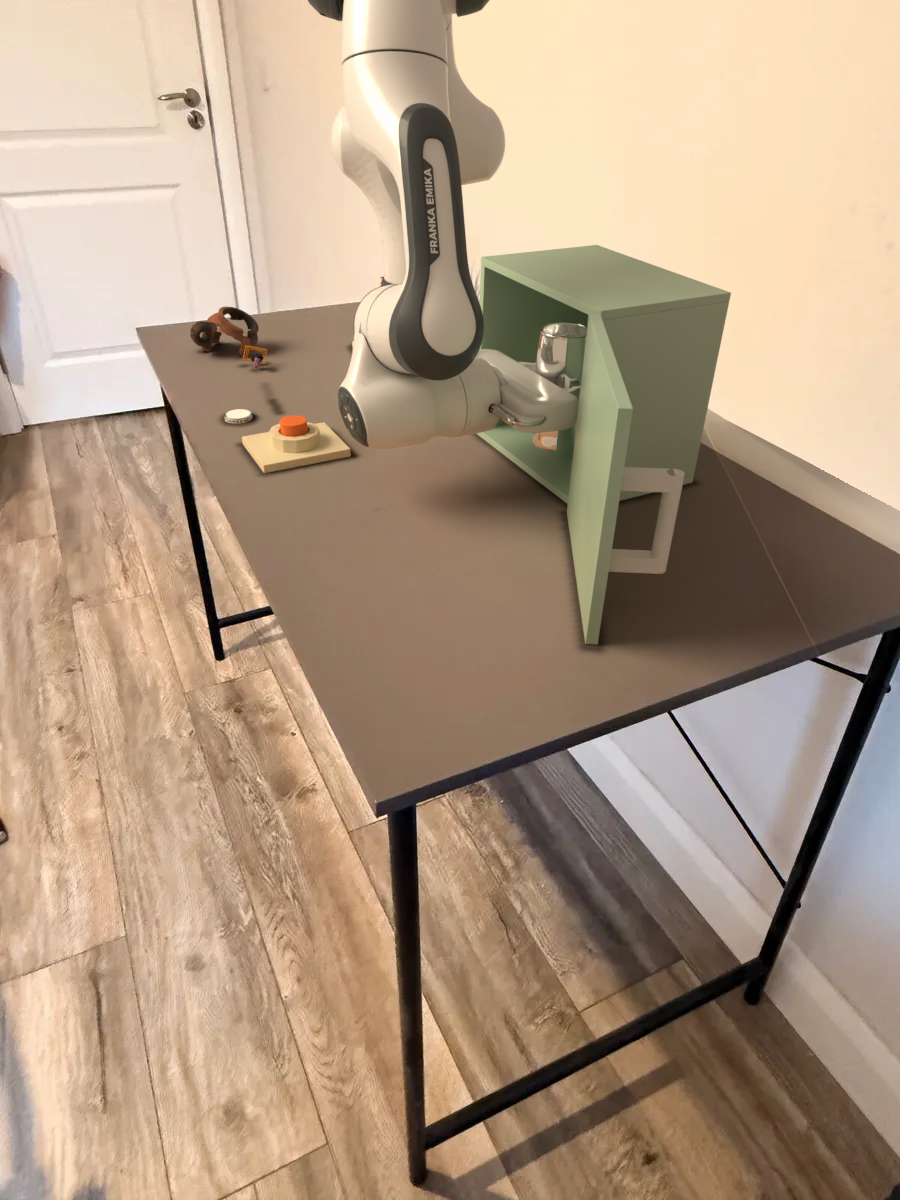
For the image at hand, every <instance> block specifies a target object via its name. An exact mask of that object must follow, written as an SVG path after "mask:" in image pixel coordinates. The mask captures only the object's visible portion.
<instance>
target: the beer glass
mask: <svg viewBox="0 0 900 1200" xmlns="http://www.w3.org/2000/svg"><path fill="white" fill-rule="evenodd" d="M586 335H587V326H585V325H582V324H578V323H571V322H552V323H547V324H544V325H542V326H541V327H540V328H539V336H538V342H537V349H536V357H535V373H537V374H539V375H540V376H542V377H544V378H545V379H547V380H549V381H550V382H552V383H554V384H555V385H557V386H559V387H561V388H565V389H566V390H568V389H570V387H571V384H577V383H581V380H582V371H583V362H584V353H585V344H586ZM576 425H577V422H576V424H575V425H574V426H573V427H572V428H570V429H565V430H558V431H551V432H541V433H534V434H533V437H532V443H533V445H534V446H535V447H537V448H539V449H541V450H544V451H548V452H568V451H571V450H573V449H574V443H575V434H576Z"/></svg>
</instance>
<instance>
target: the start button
mask: <svg viewBox="0 0 900 1200" xmlns="http://www.w3.org/2000/svg"><path fill="white" fill-rule="evenodd" d="M307 422H308V419H307V418H306V417H305V416H303V415H295V414H294V415H293V414H291V415H286V416H284V417H282V418H280V420H279V423H280V429H281V434H282V435H284V436H287V437H297V436H302V435H305V434H307V433H308V426H307Z"/></svg>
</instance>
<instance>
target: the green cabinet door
mask: <svg viewBox="0 0 900 1200" xmlns="http://www.w3.org/2000/svg"><path fill="white" fill-rule="evenodd" d="M632 413H633V407H632V404H631V401H630V399H629V396H628V393H627V390H626V387H625V384H624V381H623V378H622V375H621V373H620V370H619V367H618V364H617V361H616V358H615V355H614V352H613V349H612V347H611V344H610V341H609V338H608V335H607V332H606V329H605V326H604V323H603V321H602V318H601V315H600V314H594V313H589V317H588V326H587V335H586V344H585V353H584V362H583V371H582V380H581V389H580V398H579V407H578V416H577V425H576V434H575V443H574V452H573V461H572V470H571V479H570V488H569V497H568V504H567V506H566V507H567V508H566V517H567V523H568V531H569V537H570V546H571V552H572V559H573V566H574V574H575V580H576V588H577V589H576V590H577V595H578V603H579V610H580V616H581V624H582V630H583V631H582V632H583V638H584V644H585V645H599V638H600V633H601V632H600V631H601V626H602V618H603V611H604V605H605V599H606V593H607V585H608V579H609V578H608V577H609V574H610V573H630V574H631V573H632V574H654V575H655V574H656V575H662V574H664V573H666V571H667V566H668V562H669V556H670V553H671V552H670V551H671V547H672V542H673V537H674V532H675V525H676V521H677V516H678V510H679V505H680V500H681V496H682V490H683V486H684V485H683V480H684V475H685V474H684V472H683V471H681V470H679V469H664V468H637V467H624V466H625V460H626V453H627V446H628V440H629V433H630V426H631V420H632ZM621 491H639V492H653V493H661V497H660V502H659V507H658V512H657V519H656V524H655V529H654V535H653V541H652V546H651V550H647V549H646V550H644V549H624V548H623V549H621V548H613V544H614V539H615V532H616V526H617V525H616V524H617V519H618V513H619V505H620V501H619V500H620V493H621Z"/></svg>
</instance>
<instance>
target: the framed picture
mask: <svg viewBox="0 0 900 1200" xmlns="http://www.w3.org/2000/svg"><path fill="white" fill-rule="evenodd" d="M246 347H247V350H248V348H249V347H251V346H245V351H246ZM251 350H252V351H254V350H255V351H256V352H257V353H252V356H251V358H249V353H250V352H249V350H248V355H247V351H246V355H247V356H245V351H244V356H242V362H243V361H244V362H249V363H253V368H255V369H258V368H259V366H260V365H265V363H266V358H267V352H268V349H267V348H262V347H257V346H254V347H252V348H251V349H250V351H251ZM258 352H262V353H258Z"/></svg>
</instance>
